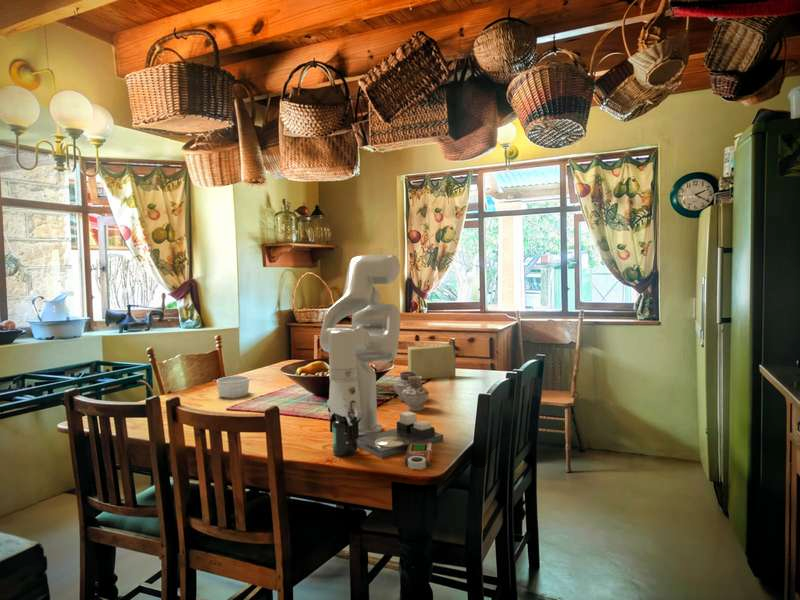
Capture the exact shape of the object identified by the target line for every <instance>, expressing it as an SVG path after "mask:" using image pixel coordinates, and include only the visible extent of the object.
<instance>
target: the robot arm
mask: <svg viewBox="0 0 800 600" xmlns="http://www.w3.org/2000/svg"><path fill="white" fill-rule="evenodd" d="M348 264H349V265H348V267H347V272H346V278H345V282H344V288H343V294H342V296H341V298H340V299H338V300H337V301H336V302H334V304H333V305H332V306H331V307H329V309H328V310H327V311H326V313H325V315H324V317H323V320H322V325H321V329H320V335H319V344H320V348H321V349H322V351H324V352H326V353H328V363H329V364H328V365H329V367H328V368H329V369H328V370H329V389H328V390H329V391H328V399H327V401H326V404H327V410H328V417H329V432H330V433H332V424H333V422H334V421H335V420H336V417H335V416H336V414H338V415H340V416H342V417H346V419H347V421H348V424H349V425H347V437H348V440H354V439H358V438H359V437H360V436H367V435H371V434H375V433H379V432H382V430H383V424H382V423H380V422H378V410H377V409H378V403H377V374H376V371H375V369H374V368H373V367H372V365H371V364H370V363H371V362H376V363H377V362H381V363H382V362H383V363H384V362H385V363H387V362H389V363H390V362H392V361H394V360H395V359H396V357H397V355H398V351H399V341H400V340H399V339H400V330H401V312H400V310H399V308H398V306H396V305H395V304H392V303H381V297H382V295H381V293H380V291H379V290H378V288H377V287H376V286H375V285H389V284H391V283H393V282H394V281H395V280H396V279H397V278H398V276H399V275H400V271H401V269H400V268H401V264H400V260H399V258H398V257H397V256H396V255H395V254H363V255H362V254H360V255H357V256H354V257H352V258H351V259H350V261H349V263H348ZM348 316H351V326H336V325H337V324H338V323H339V322H341V320H343V319H344V318H346V317H348ZM350 413H351V414H350ZM350 417H353V419H352V420H351V418H350Z"/></svg>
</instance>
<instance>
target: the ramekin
mask: <svg viewBox="0 0 800 600" xmlns="http://www.w3.org/2000/svg"><path fill="white" fill-rule="evenodd" d="M249 384H250V377H249V376H245V375H231V376H225V377H221V378H217V379H216V385H217V390H218V396H219V397H221V398H222V397H227V398H226V399H233V398H232V397H238V398H242V397H245V396H247V395H248V393H249V388H250V387H249V386H250V385H249ZM246 394H247V395H246ZM244 395H245V396H244ZM241 396H242V397H241Z"/></svg>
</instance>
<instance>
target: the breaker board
mask: <svg viewBox="0 0 800 600" xmlns="http://www.w3.org/2000/svg"><path fill="white" fill-rule="evenodd" d="M416 422H418V421H417V420H416ZM409 442H432V445H436V444H439V443H443V442H444V434H442V433H440V432H437V429H436V428H435V427H433V426H431V428H429V429H425V430H419V429H416V428H414V423H413V424H409V425H405V424H403V423H400V420H399V421H396V427H395V428H392V429H389V430H384V431H380V432H378V433H375V434H371V435H361V436H359V438H358V439H357V448H360V449H362V450H363V451H366V452H369V453H370V454H371V455H375V456H376V457H379V458H380V459H384V458H387V456H388V457H391V455H392V456H395V455H398V453H399V454H403V453H407V448H408V444H409Z"/></svg>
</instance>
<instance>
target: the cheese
mask: <svg viewBox="0 0 800 600" xmlns="http://www.w3.org/2000/svg"><path fill="white" fill-rule="evenodd" d="M407 371H411V372H415V374H416V376H421V377H422V379H421V380H428V379H441V378H442V379H443V378H454V377H456V356H455V349H454V346H453V345H451V344H446V345H434V346H414V345H413V346H407Z"/></svg>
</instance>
